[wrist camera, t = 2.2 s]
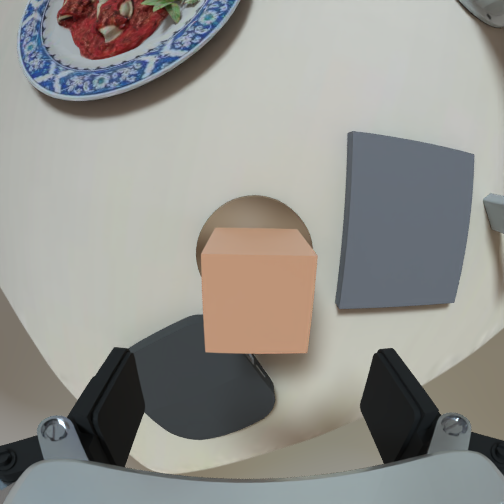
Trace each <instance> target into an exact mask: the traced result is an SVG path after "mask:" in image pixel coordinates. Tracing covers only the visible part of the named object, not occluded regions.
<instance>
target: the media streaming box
mask: <svg viewBox="0 0 504 504" xmlns="http://www.w3.org/2000/svg"><path fill="white" fill-rule="evenodd" d="M129 350H130V353H134V356H135V361H136V366H137V371H138V375H139V380H140V384H141V389H142V393H143V397H144V401H145V411H144V412H145V413H146V414H147V415H148V416H149V417H150V418H151V419H152V420H153V421H155V422H156V423H157V424H158V425H160V426H161V427H162V428H164V429H165V430H167V431H168V432H170V433H172V434H174V435H177V436H180V437H183V438H187V439H194V440H204V439H210V438H215V437H219V436H223V435H226V434H230V433H233V432H235V431H238V430H241V429H243V428H245V427H248V426H250V425H252V424H254V423H256V422H258V421H259V420H261V419H263V418H264V417H266V416H267V415H268V414H269V413H270V411H271V410H272V408H273V406H274V403H275V395H274V386H273V383H272V381H271V379H270V378H269V376H268V375H267V373H266V372H265V370H264V369H263V368H262V366H261V365H260V363H259V362H258V360H257V359H256V358H255V356H254V355H253V354H243V353H211V352H205V337H204V319H203V315H193V316H189V317H187V318H185V319H183V320H180V321H178V322H176V323H174V324H172V325H170V326H168V327H166V328H164V329H162V330H160V331H158V332H156V333H154V334H152V335H150V336H149V337H147V338H145V339H143V340H142V341H140V342H138V343H136V344H135V345H133V346H132V347H130V348H129ZM257 363H258V364H257ZM262 370H263V371H262Z"/></svg>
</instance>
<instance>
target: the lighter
mask: <svg viewBox="0 0 504 504" xmlns="http://www.w3.org/2000/svg"><path fill="white" fill-rule="evenodd" d="M483 202H484V205H485V209H486V212H487V215H488V218H489V222H490V225H491V229H492V230H495V231H498V232H500V233H503V234H504V196H501V195H497V194H492V193H490V194H489V195H488V196H487V197H485V198H484V199H483Z"/></svg>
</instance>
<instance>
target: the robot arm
mask: <svg viewBox="0 0 504 504" xmlns="http://www.w3.org/2000/svg"><path fill="white" fill-rule="evenodd" d="M459 1H460V2H461V3H462V4H463V5H464V6H465V7H466V8H467V9H468V10H469V11H470V12H471V13H472V14H474V15H475V16H476V17H477V18H479V19H480V20H482V21H483V22H485V23H487V24H488V25H491V26H493V27H498V28H500V27H504V0H459ZM360 409H361V412H362V414H363V416H364V419H365V421H366V423H367V425H368V428H369V430H370V432H371V435H372V437H373V439H374V442H375V444H376V446H377V448H378V451H379V453H380V455H381V458H382V460H383V463H384V464H382V465H377V466H372V467H367V468H362V469H356V470H350V471H344V472H337V473H330V474H322V475H314V476H302V477H290V478H272V479H271V478H270V479H224V478H203V477H191V476H181V475H172V474H164V473H157V472H150V471H143V470H136V469H131V468H126V467H125V464H126V462H127V459H128V456H129V453H130V450H131V447H132V444H133V442H134V439H135V436H136V433H137V430H138V428H139V425H140V422H141V419H142V417H143V414H144V411H145V401H144V397H143V393H142V389H141V384H140V380H139V375H138V371H137V366H136V361H135V356H134V353H130V350H129V349H127V348H118V347H114V348H113V350H112V351H111V353H110V354H109V356H108V357H107V359H106V360H105V362H104V363H103V365H102V366H101V368H100V369H99V371H98V372H97V374H96V376H94V377H93V378H92V379H91V380H90V382H89V383H88V385H87V386H86V388H85V390H84V391H83V393H82V394H81V396H80V397H79V399H78V401H77V402H76V404H75V406H74V407H73V409H72V410H71V412H70V413H69V415H68V417H67V418H66V417H63V416H50V417H48V418H46V419H44V420H43V421H41V423H40V424H39V425H38V428H37V436H33V437H30V438H27V439H24V440H20V441H17V442H13V443H9V444H6V445H2V446H0V504H504V441H502V440H499V439H495V438H491V437H488V436H484V435H481V434H477V433H474V432H471V424H470V421H469V420H468V419H467V418H466V417H464V416H463V415H461V414H458V413H446V414H443V415H442V416H441V414H440V413H439V412H438V411H439V410H438V408H437V407H436V405H435V404H434V403H433V401H432V400H431V398H430V397H429V396H428V394H427V393H426V392H425V390H424V389H423V387H422V386H421V385H420V383H419V382H418V381H417V379H416V378H415V377H414V375H413V374H412V373H411V371H410V370H409V369H408V367H407V366H406V365H405V363H404V362H403V361H402V359H401V358H400V357H399V355H398V354H397V353H396V351H395V350H394V349H393V348H387V349H379V350H378V352H377V353H375V354H374V355H373V359H372V363H371V367H370V371H369V374H368V378H367V382H366V385H365V389H364V392H363V396H362V399H361V403H360Z"/></svg>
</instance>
